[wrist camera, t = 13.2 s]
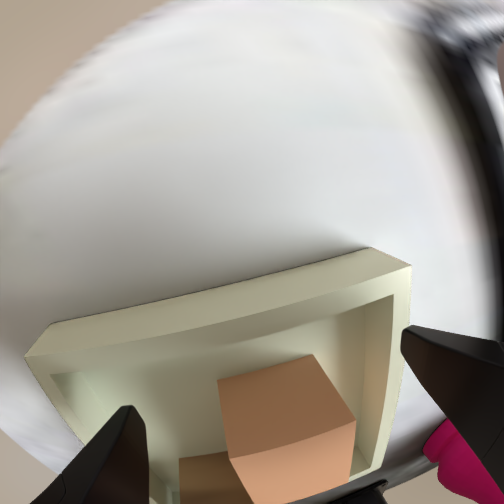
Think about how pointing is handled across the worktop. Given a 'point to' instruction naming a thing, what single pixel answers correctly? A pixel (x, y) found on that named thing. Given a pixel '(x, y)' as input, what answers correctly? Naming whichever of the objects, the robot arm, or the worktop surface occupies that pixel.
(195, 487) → the walnut block
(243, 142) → the worktop surface
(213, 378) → the tray
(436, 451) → the pepper mill
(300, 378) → the peach block
